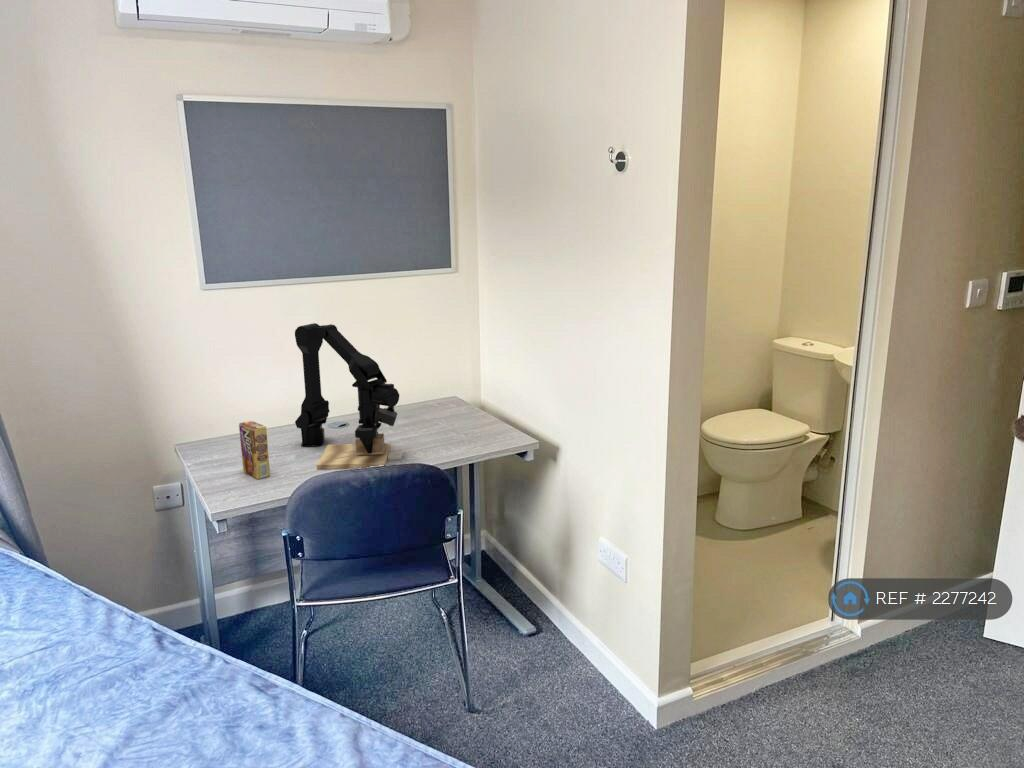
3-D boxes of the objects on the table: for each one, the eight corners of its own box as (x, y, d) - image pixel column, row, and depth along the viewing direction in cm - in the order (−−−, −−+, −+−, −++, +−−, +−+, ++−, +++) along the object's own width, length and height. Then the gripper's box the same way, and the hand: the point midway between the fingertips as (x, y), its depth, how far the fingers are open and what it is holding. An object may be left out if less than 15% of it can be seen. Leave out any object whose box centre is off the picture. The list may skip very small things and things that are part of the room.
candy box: (271, 475, 219) (266, 426, 215) (258, 479, 216) (252, 429, 212) (256, 468, 225) (251, 419, 221) (243, 472, 222) (237, 423, 218)
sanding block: (356, 455, 229) (355, 439, 228) (358, 449, 234) (357, 434, 233) (383, 454, 230) (382, 438, 228) (384, 448, 235) (383, 433, 233)
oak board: (316, 469, 223) (316, 464, 223) (328, 449, 240) (327, 444, 240) (384, 467, 224) (384, 463, 224) (390, 447, 241) (390, 443, 241)
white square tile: (388, 461, 231) (387, 457, 231) (389, 456, 235) (388, 452, 234) (401, 460, 231) (400, 457, 231) (402, 456, 235) (401, 452, 235)
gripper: (391, 410, 219) (394, 460, 223) (397, 393, 237) (399, 439, 241) (353, 411, 219) (356, 461, 223) (362, 393, 237) (365, 440, 241)
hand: (371, 450), depth 232 cm, fingers closed on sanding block, 5 cm apart
